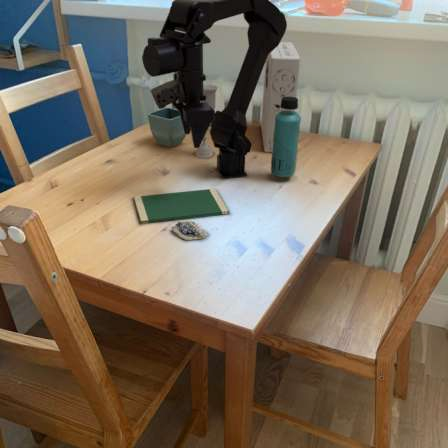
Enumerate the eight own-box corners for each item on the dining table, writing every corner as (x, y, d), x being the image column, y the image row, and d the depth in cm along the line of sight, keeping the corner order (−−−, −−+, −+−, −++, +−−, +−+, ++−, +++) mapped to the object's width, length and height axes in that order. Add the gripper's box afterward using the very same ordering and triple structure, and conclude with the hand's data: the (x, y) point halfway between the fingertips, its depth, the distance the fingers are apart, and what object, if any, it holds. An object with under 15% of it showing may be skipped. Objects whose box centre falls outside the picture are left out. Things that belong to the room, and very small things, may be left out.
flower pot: (168, 136, 148) (167, 106, 143) (190, 143, 144) (190, 112, 139) (148, 144, 142) (146, 113, 137) (171, 151, 138) (170, 119, 133)
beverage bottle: (297, 174, 128) (306, 95, 115) (291, 184, 123) (300, 103, 110) (273, 171, 129) (280, 92, 117) (266, 180, 124) (273, 99, 112)
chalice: (197, 160, 134) (196, 92, 123) (187, 152, 138) (185, 85, 127) (221, 156, 136) (222, 89, 125) (210, 148, 141) (210, 82, 130)
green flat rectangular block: (215, 191, 119) (215, 188, 118) (229, 214, 110) (229, 210, 109) (133, 199, 114) (133, 196, 114) (140, 224, 105) (140, 220, 104)
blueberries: (183, 220, 107) (183, 213, 105) (214, 230, 103) (214, 223, 102) (165, 233, 102) (165, 225, 101) (197, 244, 99) (197, 236, 98)
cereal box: (290, 153, 140) (301, 58, 124) (264, 152, 140) (271, 57, 124) (284, 128, 157) (292, 42, 141) (260, 127, 157) (266, 41, 141)
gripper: (144, 60, 108) (150, 130, 118) (160, 82, 94) (165, 159, 104) (193, 58, 111) (194, 126, 120) (215, 78, 97) (215, 154, 106)
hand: (191, 140), depth 113 cm, fingers open, 9 cm apart
